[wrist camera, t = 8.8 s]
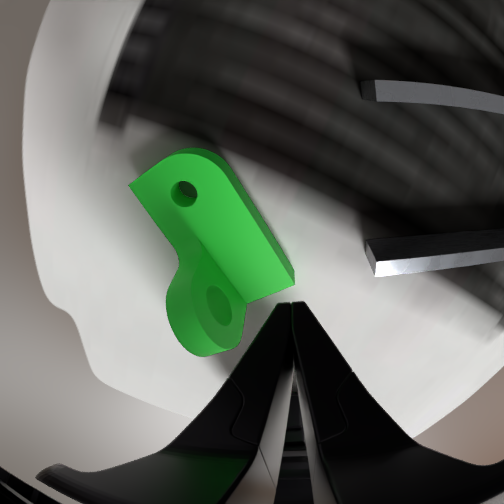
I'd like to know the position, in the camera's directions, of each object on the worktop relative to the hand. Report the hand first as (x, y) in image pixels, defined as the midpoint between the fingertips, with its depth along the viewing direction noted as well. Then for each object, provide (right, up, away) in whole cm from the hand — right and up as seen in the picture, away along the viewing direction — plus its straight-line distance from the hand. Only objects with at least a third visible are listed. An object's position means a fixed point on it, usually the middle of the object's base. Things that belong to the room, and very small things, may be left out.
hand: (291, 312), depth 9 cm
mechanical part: (-4, +4, +12) cm, 13 cm away
